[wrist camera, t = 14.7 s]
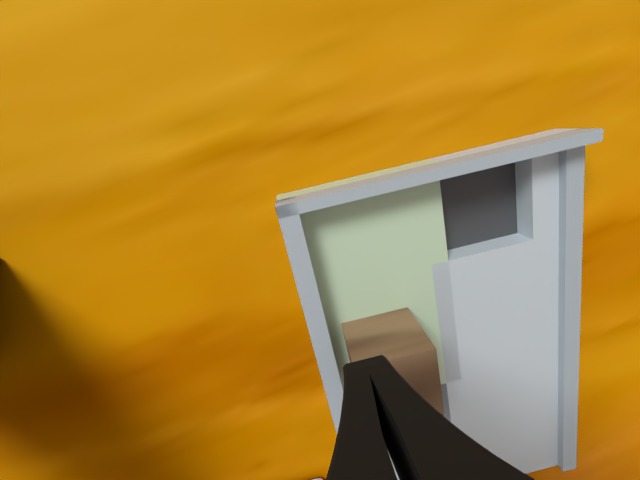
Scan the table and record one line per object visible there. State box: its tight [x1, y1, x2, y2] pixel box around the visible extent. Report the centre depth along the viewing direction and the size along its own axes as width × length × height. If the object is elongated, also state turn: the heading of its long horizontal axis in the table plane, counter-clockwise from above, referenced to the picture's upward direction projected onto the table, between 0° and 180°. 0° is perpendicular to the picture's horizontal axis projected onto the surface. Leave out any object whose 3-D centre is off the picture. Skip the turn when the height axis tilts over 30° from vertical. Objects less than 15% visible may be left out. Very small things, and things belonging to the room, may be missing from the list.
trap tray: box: [275, 128, 603, 480], centre depth 21 cm, size 24×16×3 cm, turn 13°
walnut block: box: [341, 307, 444, 414], centre depth 19 cm, size 4×4×4 cm
